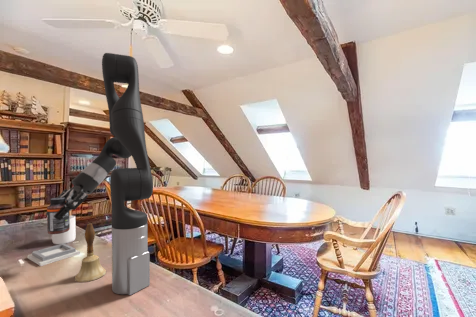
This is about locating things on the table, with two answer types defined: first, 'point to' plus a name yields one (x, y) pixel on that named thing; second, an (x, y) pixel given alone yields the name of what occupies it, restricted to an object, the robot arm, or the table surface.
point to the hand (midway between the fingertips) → (52, 217)
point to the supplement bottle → (52, 223)
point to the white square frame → (52, 254)
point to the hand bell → (90, 260)
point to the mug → (66, 233)
